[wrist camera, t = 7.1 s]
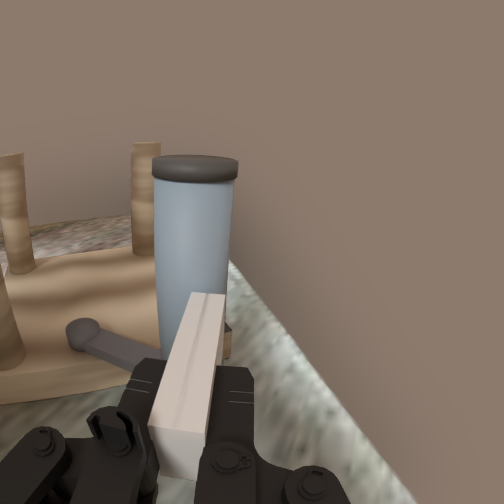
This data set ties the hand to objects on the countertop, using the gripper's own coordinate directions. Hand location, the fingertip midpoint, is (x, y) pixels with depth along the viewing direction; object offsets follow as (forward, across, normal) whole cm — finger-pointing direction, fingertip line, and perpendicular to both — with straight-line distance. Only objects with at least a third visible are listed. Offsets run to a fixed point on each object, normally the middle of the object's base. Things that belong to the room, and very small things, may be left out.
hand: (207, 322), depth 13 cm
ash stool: (+11, -12, -8) cm, 18 cm away
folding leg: (+3, -5, -6) cm, 8 cm away
